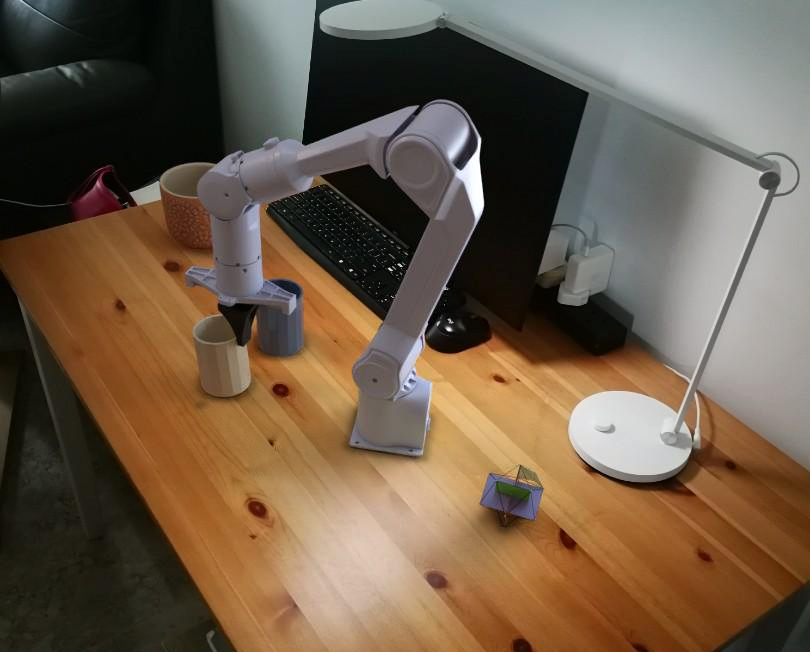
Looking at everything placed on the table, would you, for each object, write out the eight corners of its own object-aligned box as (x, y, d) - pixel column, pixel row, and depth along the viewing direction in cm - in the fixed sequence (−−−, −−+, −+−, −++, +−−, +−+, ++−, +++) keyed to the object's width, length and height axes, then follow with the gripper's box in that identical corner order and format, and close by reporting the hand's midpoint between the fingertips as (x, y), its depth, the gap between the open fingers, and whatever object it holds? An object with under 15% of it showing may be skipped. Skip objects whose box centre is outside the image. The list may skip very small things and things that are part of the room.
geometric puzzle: (529, 543, 96) (547, 476, 96) (471, 525, 98) (488, 459, 97) (533, 530, 103) (550, 468, 103) (479, 514, 105) (495, 452, 104)
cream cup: (256, 368, 119) (250, 316, 114) (242, 399, 114) (235, 346, 108) (211, 363, 120) (202, 311, 114) (195, 394, 115) (185, 341, 109)
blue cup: (308, 332, 127) (307, 282, 121) (297, 359, 122) (296, 309, 116) (264, 325, 127) (262, 275, 121) (252, 353, 122) (248, 302, 116)
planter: (256, 234, 146) (252, 177, 139) (206, 265, 138) (200, 206, 131) (202, 211, 151) (196, 154, 144) (151, 240, 143) (142, 181, 136)
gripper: (166, 255, 101) (179, 344, 110) (276, 285, 98) (279, 375, 107) (198, 227, 106) (207, 314, 115) (303, 255, 103) (304, 343, 112)
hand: (244, 341), depth 111 cm, fingers closed, pressing on cream cup
